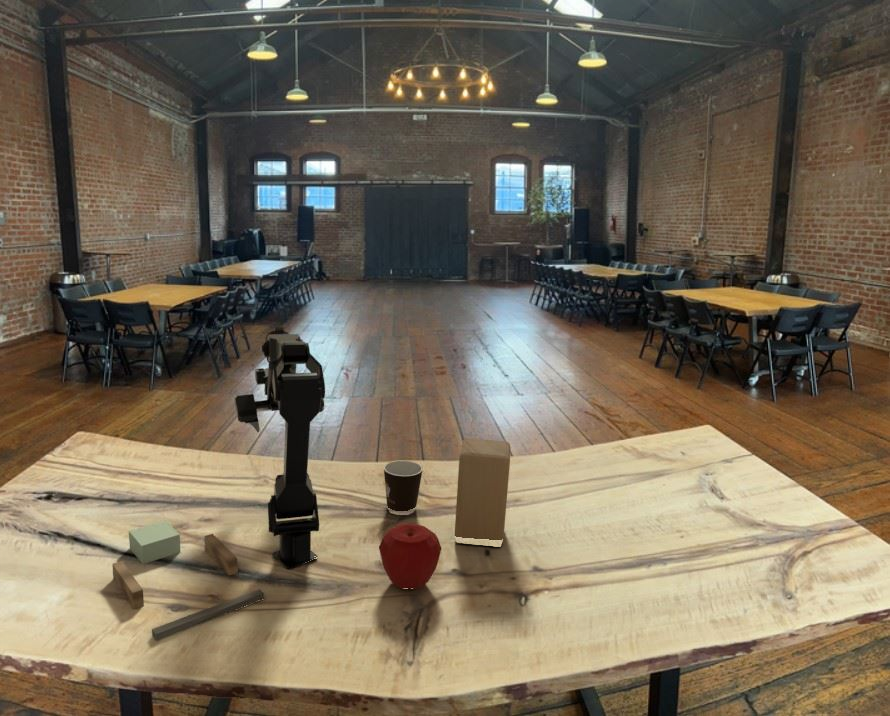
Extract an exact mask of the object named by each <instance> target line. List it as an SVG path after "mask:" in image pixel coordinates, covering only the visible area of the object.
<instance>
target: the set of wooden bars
mask: <svg viewBox="0 0 890 716" xmlns="http://www.w3.org/2000/svg"><path fill="white" fill-rule="evenodd" d="M204 551H205V552H206V553H207V554H208V555H209V556H210V557H211V558H212V559H213V560H214V562H215V563H217V564H218V565H219V566H220V567H221V569H223V571H224V572H225V573H226V574H227V575H228V576H233V575H235V574H238V573H239V570H238V569H239V567H238V566H239V565H238V562H239V561H238V560H239V559H238V557H237V556H236V555H235V554H234V553H233V552H232V551H231V550H230V549H229V548H228V547H227V546H226V545H225V544H224V543H223V541H220V539H219V538H217V536H216V535H214V534H213V533H211V534H207V535H204ZM111 566H112V577H113V578H112V579H113V581H114V582H115V583H116V585H117V586H118V588H119V590H120V591H121V592H122V593H123V595H124V596H125V598H126V599H127V601H128V603H129V604H130V605H131V607H132V608H133V610H135V609H137V608H140V607H143V606H145V604H144V603H145V602H144V601H145V600H144V590H143V589H144V588H143V587H142V586H141V585H140V584H139V582H138V581H137V580H136V578H135V577H134V575H133V574H132V573H131V571H130V570H129V568H128V567H127V565H126V564H125V563H124V562H123V560H120V561H117V562H113V563H112V565H111ZM262 599H264V600H265V592H263V591H262V589H261V588H259V589H256V590H253V591H251V592H248V593H245V594H243V595H240V596H237V597H234V598H232V599H228V600H227V601H223V602H221V603H219V604H216V605H212V606H210V607H207V608H205V609H202V610H199V611H196V612H195V613H191V614H188V615H186V616H183V617H181V618H178V619H175V620H173V621H170V622H167V623H164V624H162V625H158V626H156V627H154V628H151V636H152V638H153V639H154V641H155V642H157V641H159V640H163V639H165V638H167V637H168V638H169V637H170V636H172V635H176V634H178V633H181V632H183V631H186V630H189V629H191V628H193V627H196V626H199V625H201V624H203V623H204V624H205V623H206V622H209V621H211V620H215V619H216V618H217V619H218V618H219V617H222V616H224V614H225V613H227V614H229V612H230V611H233V612H235V611H237V610H236V609H238V610H239V608H240V609H242V608H241V607H243V608H245V607H244V606H246V605H248V606H250V605H249V604H251V603H253V604H255V603H254V602H256V601H258V600H261V601H263V600H262ZM258 602H259V601H258ZM256 603H257V602H256ZM251 605H252V604H251ZM246 607H247V606H246ZM234 610H235V611H234ZM230 613H231V612H230ZM225 615H226V614H225Z"/></svg>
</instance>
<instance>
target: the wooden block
mask: <svg viewBox="0 0 890 716" xmlns="http://www.w3.org/2000/svg"><path fill="white" fill-rule="evenodd" d="M458 462H459V463H458V477H457V492H456V505H455V506H456V507H455V521H454V536H456V537H462V538H474V539H489V540H502V539H503V538H504V539H505V537H504V535H505V526H506V514H507V501H508V492H509V491H508V490H509V478H510V477H509V476H510V465H511V444H510V442H508V441H504V440H495V439H494V440H493V439H484V438H483V439H481V438H472V437H471V438H470V437H466V438H464V439H463V440H462V443H461V448H460V452H459V460H458ZM504 539H503V540H504Z"/></svg>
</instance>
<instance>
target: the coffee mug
mask: <svg viewBox="0 0 890 716" xmlns="http://www.w3.org/2000/svg"><path fill="white" fill-rule="evenodd" d="M383 474H384V485H385V499H386V507H387V506H388V508H390V509H392V510H395V511H408V510H410V509H413V508H415V507H416V508H417V505H418V499H419V492H420V487H421V482H422V481H421V480H422V476H423V466H422V465H421V464H420V463H418V462H416V461H412V460H402V459H400V460H393V461H389V462H387V463H385V464H384V465H383Z"/></svg>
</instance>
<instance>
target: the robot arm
mask: <svg viewBox="0 0 890 716" xmlns="http://www.w3.org/2000/svg"><path fill="white" fill-rule="evenodd" d="M284 329H285V328H284V326H274V329H273V330H272V331H270V332H268V333H267V334H266V335H265V337H264V340H263V342H262V344H261V345H260V347H259V348H260V349H259V350H260V352H261V353H262V355H263V356H264V358H266V361H267V363H268V367H267V368H264V367H263V368H261V367H260V368H255V372H254V376H255V377H254V379H255V382H256V385H264V389H263V390H264V395H265V396H266V399H265V400H257V401H256V400H255V396H254V393H251V394H250V393H248V394H240V395H236V397H234V407H235V411H236V417H237V421H238V422H240V423H244V424H249V425H251V426H252V427H253V428H254V429H255V431H256V433H259V432H260V431H261V429H260V422H259V418H258V413H260V412H268V411H271V412H274V411H278V413H279V415H280V417H282V419H283V420H284V421H285V422H284V423H285V426H284V451H283V452H284V453H283V473H282V474H277V475H276V477H275V478H274V480H275V481H274V482H275V483H274V487H273V489H274V491H273V495H270V499H269V501H268V502H267V518H268V532H269V533H272V535H273V537H277V536H279V541H278V542H279V550H275V551H272V553H271V554H272V556H273V558H274V559H276V560H277V561H278V560H279V561H280V562H281V563H282V564H281V563H280V562H279V561H278V562H279V563H280V564H281V565H282V566H283V567H284V568H286V569H288V570H290V568H291V569H293V568H296V567H299V566H302V565H304V564H303V563H305V562H307V563H309V562H308V561H310V560H312V559H314V558H316V557H318V555H317V554H316V553H315V552H314V551H313V550H311V546H312V545H311V543H312V542H311V541H312V535H311V534H312V532H319V530H320V517H319V508H318V499H317V493H316V491H314V488H313V484H312V483H313V482H312V480H311V478H310V474H309V472H308V465H309V462H308V461H309V447H310V435H311V434H310V431H311V430H310V429H311V422H312V421H313V420H314V419H315V418H316V417H317V416H319V415H318V414H320V413H322V412H323V411H324V410H325V400H324V399H325V398H326V383H325V377H324V371H323V365H322V364H321V363H320V362H319V361H318V360H317V359H316V358H315V357H314V356H313V354H311V352H310V345H309V343H308V342H305V341H304V340H303V339H302V338H301V336H300V335H299V333H291V334H290V333H289V332H288V331H285V330H284ZM297 365H305V368H306V369H307V370H308V371H309V372H297ZM304 517H305V518H304ZM283 519H284V520H283ZM285 519H286V520H285ZM314 556H316V557H314ZM310 562H311V561H310ZM301 564H302V565H301ZM305 564H306V563H305ZM298 565H299V566H298Z"/></svg>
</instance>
